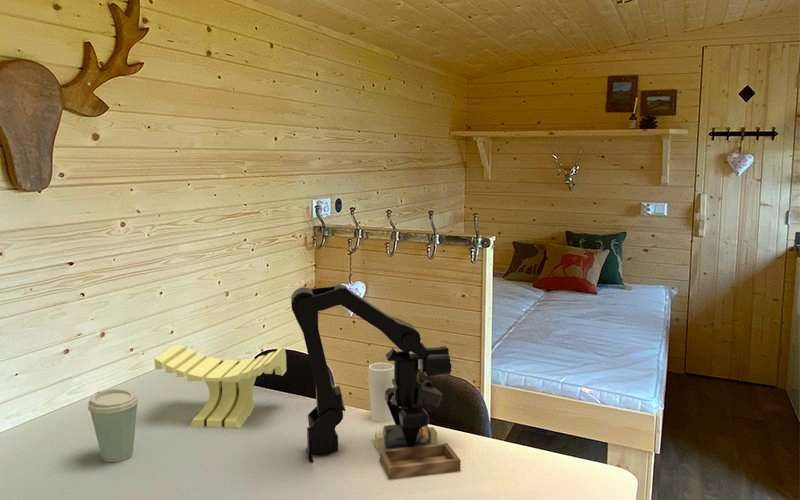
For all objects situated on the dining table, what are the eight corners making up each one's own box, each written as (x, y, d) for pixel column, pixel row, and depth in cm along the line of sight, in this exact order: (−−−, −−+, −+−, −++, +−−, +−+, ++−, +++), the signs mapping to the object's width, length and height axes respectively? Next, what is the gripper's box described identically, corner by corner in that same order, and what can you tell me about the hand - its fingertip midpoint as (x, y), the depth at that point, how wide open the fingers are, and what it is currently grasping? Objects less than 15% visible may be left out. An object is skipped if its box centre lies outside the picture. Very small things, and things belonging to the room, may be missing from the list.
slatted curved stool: (287, 406, 183) (285, 344, 181) (271, 429, 167) (269, 361, 165) (182, 402, 185) (180, 341, 183) (157, 425, 170) (154, 358, 167)
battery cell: (388, 451, 153) (388, 430, 152) (383, 442, 158) (383, 422, 157) (429, 446, 155) (429, 426, 154) (423, 437, 160) (423, 417, 159)
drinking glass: (391, 427, 169) (391, 371, 167) (365, 425, 170) (365, 369, 168) (396, 417, 175) (396, 363, 173) (372, 415, 177) (372, 361, 175)
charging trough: (389, 483, 139) (389, 468, 139) (379, 465, 148) (379, 450, 147) (460, 475, 143) (460, 460, 143) (447, 457, 152) (447, 443, 151)
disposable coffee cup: (151, 450, 154) (148, 389, 152) (117, 470, 144) (114, 405, 142) (115, 444, 158) (111, 384, 156) (80, 463, 148) (76, 399, 146)
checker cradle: (379, 460, 150) (379, 443, 150) (371, 443, 159) (371, 428, 158) (441, 453, 154) (441, 436, 153) (430, 437, 163) (430, 422, 162)
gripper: (451, 387, 147) (450, 453, 149) (427, 363, 165) (426, 422, 167) (403, 391, 144) (403, 458, 146) (384, 366, 162) (384, 426, 164)
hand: (405, 440), depth 156 cm, fingers open, 9 cm apart
